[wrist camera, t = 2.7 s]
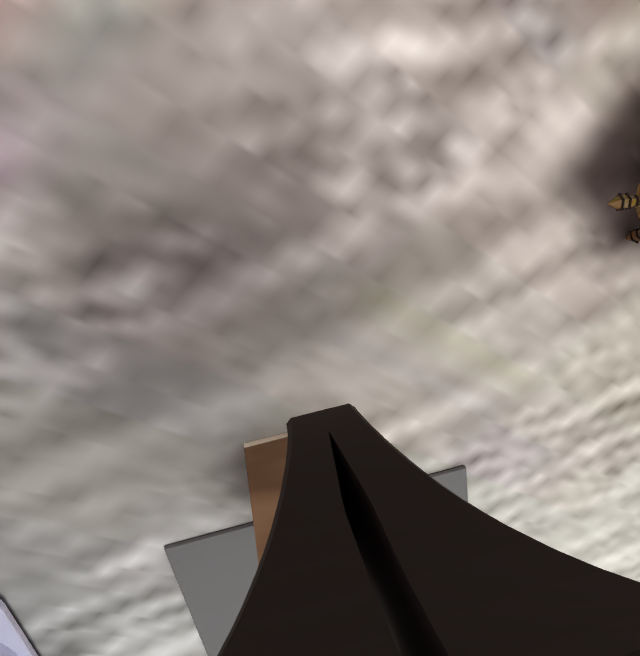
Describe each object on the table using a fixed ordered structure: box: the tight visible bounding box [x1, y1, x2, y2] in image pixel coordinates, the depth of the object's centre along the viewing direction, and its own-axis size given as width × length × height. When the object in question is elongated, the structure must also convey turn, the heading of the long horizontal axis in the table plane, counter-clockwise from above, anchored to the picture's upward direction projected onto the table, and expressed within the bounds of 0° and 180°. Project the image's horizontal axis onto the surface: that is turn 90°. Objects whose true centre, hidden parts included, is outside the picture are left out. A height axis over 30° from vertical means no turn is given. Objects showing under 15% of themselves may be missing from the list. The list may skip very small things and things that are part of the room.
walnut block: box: [244, 432, 288, 564], centre depth 21 cm, size 5×4×7 cm
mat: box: [164, 466, 468, 656], centre depth 28 cm, size 14×11×1 cm
